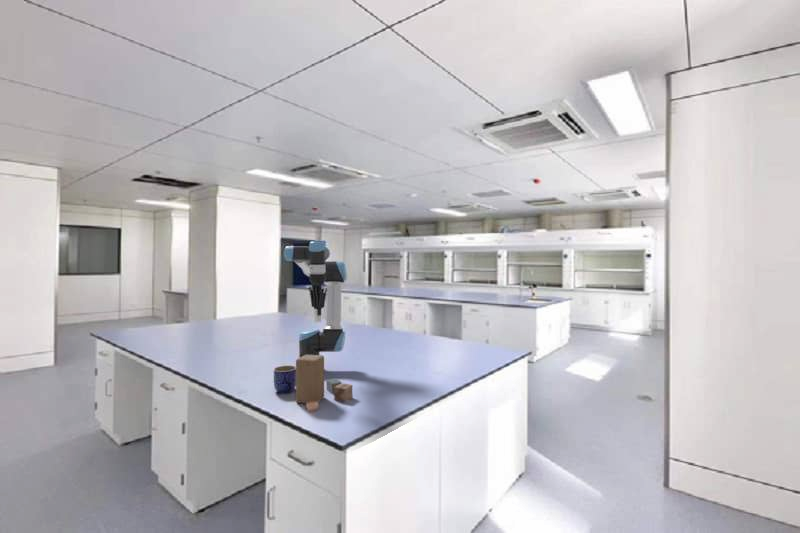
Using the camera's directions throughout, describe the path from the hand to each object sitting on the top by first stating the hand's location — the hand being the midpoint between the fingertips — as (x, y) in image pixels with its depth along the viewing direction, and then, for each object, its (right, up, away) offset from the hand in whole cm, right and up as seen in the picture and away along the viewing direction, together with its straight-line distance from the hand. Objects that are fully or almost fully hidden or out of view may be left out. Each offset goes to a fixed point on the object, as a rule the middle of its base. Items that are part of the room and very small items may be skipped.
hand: (318, 321), depth 181 cm
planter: (-17, -35, +3) cm, 39 cm away
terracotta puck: (+2, -35, -21) cm, 41 cm away
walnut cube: (+14, -35, -8) cm, 38 cm away
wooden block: (-1, -35, -10) cm, 36 cm away
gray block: (+7, -35, +2) cm, 35 cm away
